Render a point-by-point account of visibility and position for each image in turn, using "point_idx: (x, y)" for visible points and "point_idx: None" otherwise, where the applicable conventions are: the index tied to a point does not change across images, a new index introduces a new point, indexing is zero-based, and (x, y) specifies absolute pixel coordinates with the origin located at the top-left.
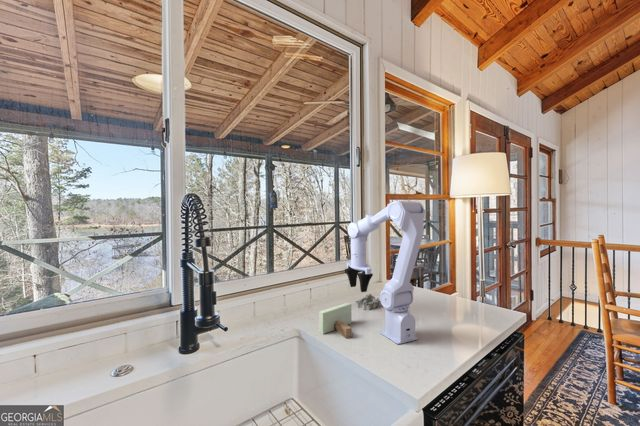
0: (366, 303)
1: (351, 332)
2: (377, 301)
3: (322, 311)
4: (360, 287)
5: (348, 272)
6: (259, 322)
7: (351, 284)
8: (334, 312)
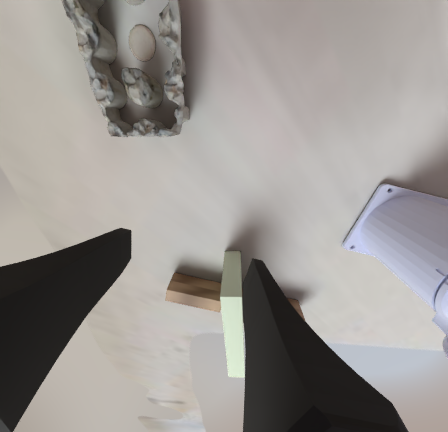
0: (177, 128)
1: (301, 310)
2: (171, 22)
3: (234, 372)
4: (245, 313)
5: (31, 395)
6: (126, 355)
7: (121, 270)
8: (243, 342)
